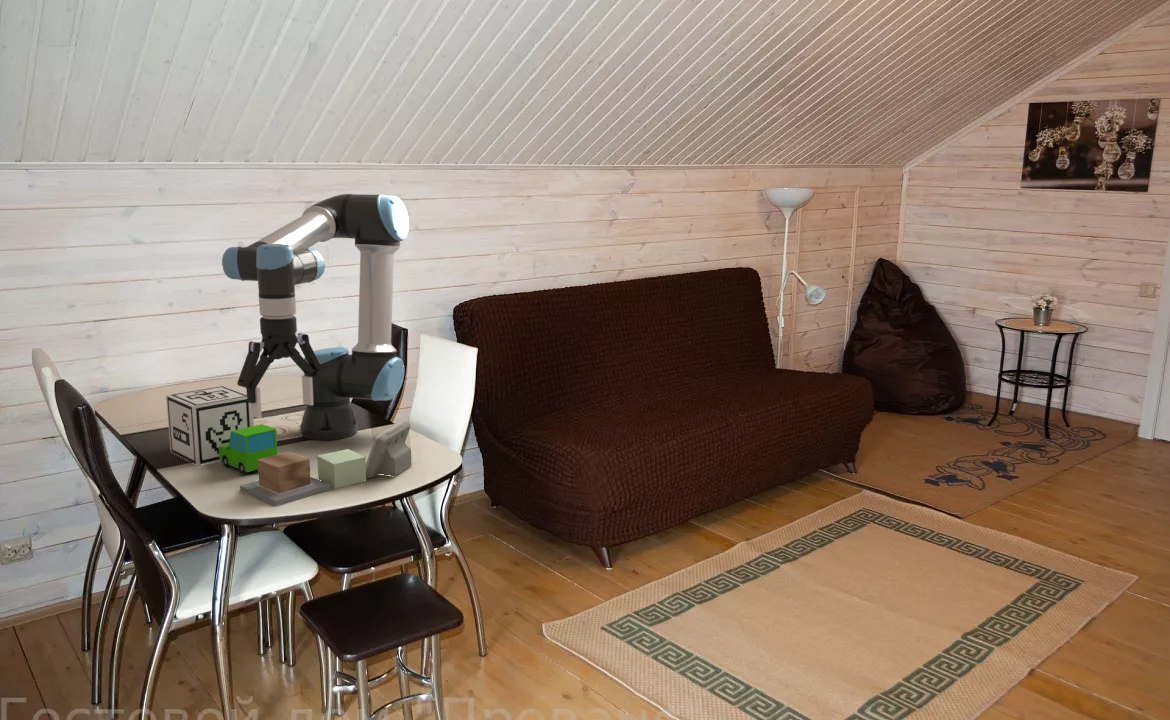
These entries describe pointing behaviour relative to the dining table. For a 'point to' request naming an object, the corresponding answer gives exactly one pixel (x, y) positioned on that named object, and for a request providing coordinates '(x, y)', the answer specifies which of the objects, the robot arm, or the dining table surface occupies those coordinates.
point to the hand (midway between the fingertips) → (283, 410)
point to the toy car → (249, 447)
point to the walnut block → (284, 472)
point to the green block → (341, 468)
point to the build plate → (287, 496)
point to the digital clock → (389, 452)
